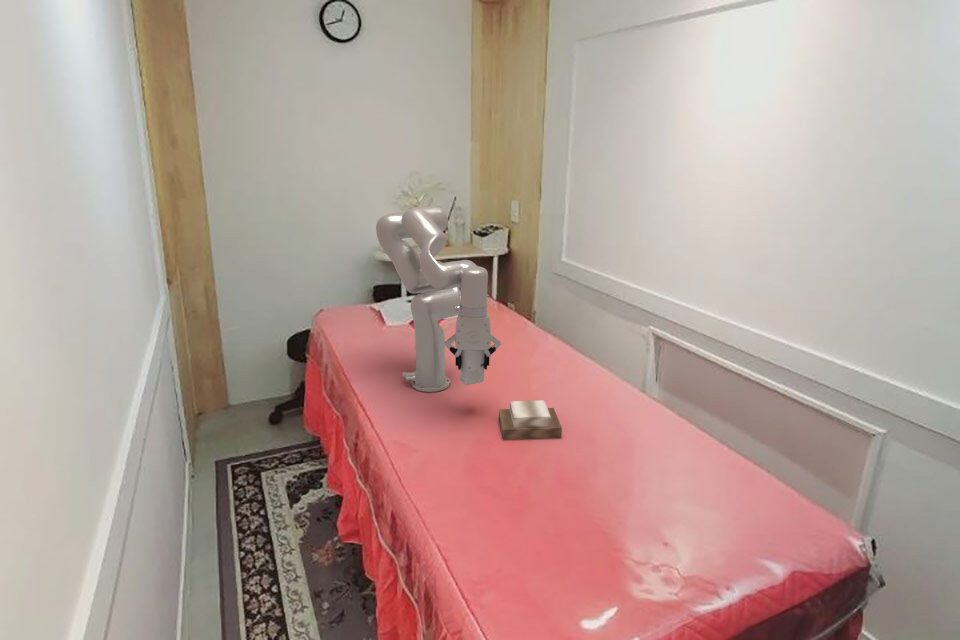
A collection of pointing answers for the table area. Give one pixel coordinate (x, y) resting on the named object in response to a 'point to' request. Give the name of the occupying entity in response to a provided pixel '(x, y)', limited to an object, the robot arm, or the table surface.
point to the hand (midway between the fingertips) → (472, 367)
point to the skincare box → (472, 366)
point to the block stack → (529, 421)
